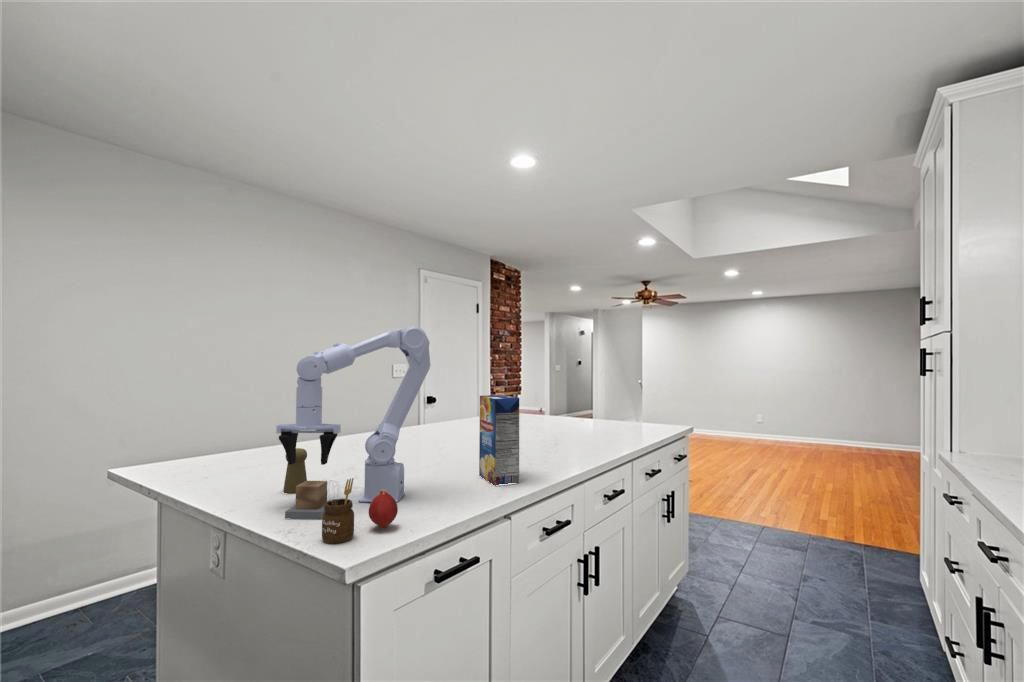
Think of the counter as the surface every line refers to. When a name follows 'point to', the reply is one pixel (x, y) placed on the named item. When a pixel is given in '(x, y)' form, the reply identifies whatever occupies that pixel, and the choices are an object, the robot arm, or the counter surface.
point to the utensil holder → (338, 518)
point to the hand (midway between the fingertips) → (308, 463)
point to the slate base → (304, 513)
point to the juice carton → (499, 439)
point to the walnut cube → (311, 494)
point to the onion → (383, 509)
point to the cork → (295, 472)
